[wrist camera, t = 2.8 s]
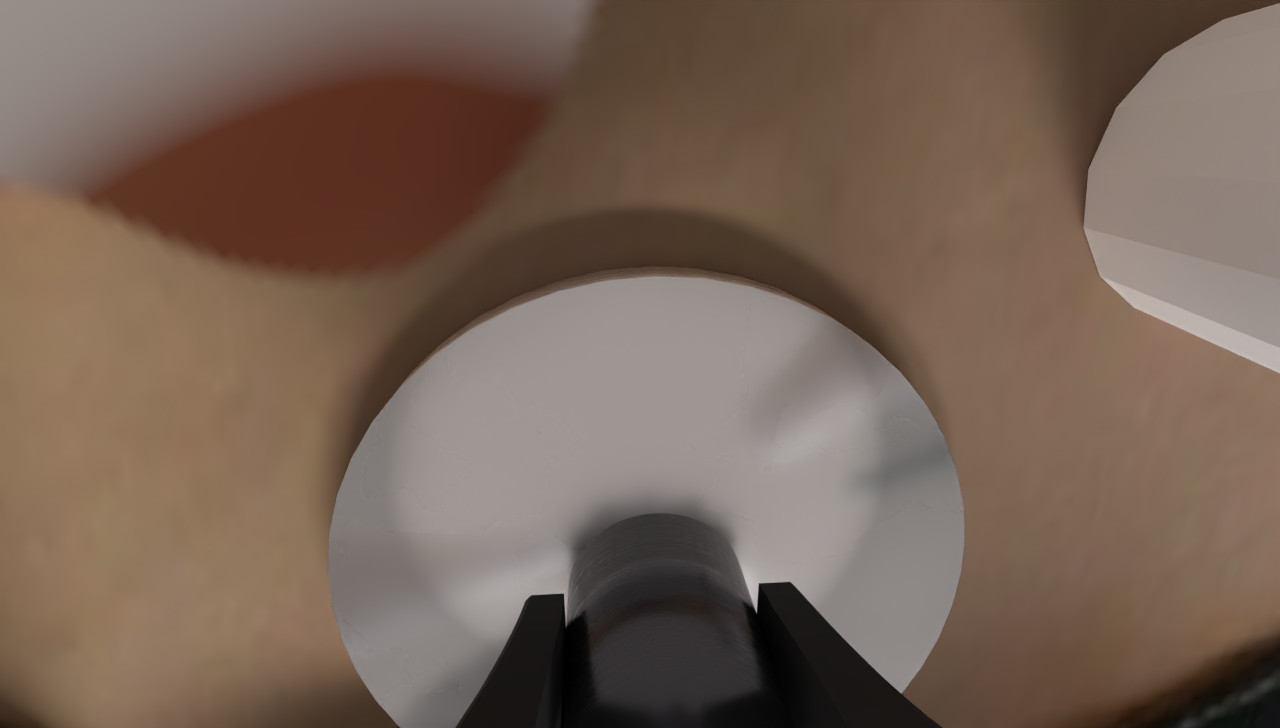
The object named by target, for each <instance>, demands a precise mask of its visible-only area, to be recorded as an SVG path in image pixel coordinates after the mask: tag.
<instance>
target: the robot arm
mask: <svg viewBox="0 0 1280 728" xmlns="http://www.w3.org/2000/svg"><path fill="white" fill-rule="evenodd" d="M757 616H758V619H759V622H760V625H761V628H762V631H763V634H764V637H765V640H766V643H767V646H768V648H769V651H770V654H771V657H772V660H773V663H774V666H775V669H776V672H777V675H778V678H779V681H780V684H781V686H782V689H783V692H784V695H785V698H786V701H787V704H788V707H789V710H790V713H791V716H792V719H793V722H794V724H795V727H796V728H942V727H941V726H939V725H938V724H937V723H936V722H934V721H933V720H932V719H930V718H929V717H928V716H927V715H925V714H924V713H923V712H922V711H921V710H919V709H918V708H917V707H916V706H915V705H913V704H912V703H911V702H910V701H909V700H908V699H907V698H905V697H904V696H903V695H902V694H901V693H900V692H899V691H898V690H896V689H895V688H894V687H893V686H892V685H891V684H890V683H889V682H888V681H887V680H885V679H884V678H883V677H882V676H881V675H880V674H879V673H878V672H877V671H876V670H875V669H874V668H873V667H872V666H871V665H870V664H869V663H868V662H867V661H866V660H865V659H864V658H863V657H862V656H861V655H860V654H859V653H858V652H857V651H856V650H855V649H854V648H853V647H852V646H851V645H850V644H849V643H848V642H847V641H846V640H845V639H844V638H843V637H842V636H841V635H840V634H839V633H838V632H837V631H836V630H835V629H834V628H833V627H832V626H831V625H830V624H829V623H828V622H827V620H826V619H825V618H824V617H823V616H822V615H821V614H820V613H819V612H818V611H817V610H816V609H815V607H814V606H813V605H812V604H811V603H810V602H809V601H808V600H807V599H806V598H805V597H804V595H803V594H802V593H801V592H800V591H799V590H798V589H797V588H796V587H795V586H794V585H793V584H792V583H791V582H776V583H759V587H758V602H757ZM565 636H566V620H565V602H564V593H563V594H544V595H531V596H530V597H529V598H528V599H527V600H526V601H525V603H524V606H523V608H522V611H521V613H520V616H519V618H518V620H517V622H516V625H515V627H514V629H513V631H512V633H511V635H510V637H509V639H508V641H507V643H506V645H505V647H504V648H503V650H502V652H501V654H500V656H499V658H498V659H497V661H496V663H495V665H494V666H493V668H492V670H491V672H490V673H489V675H488V677H487V679H486V680H485V682H484V684H483V685H482V687H481V689H480V690H479V692H478V694H477V695H476V697H475V698H474V700H473V701H472V703H471V704H470V706H469V707H468V709H467V710H466V712H465V714H464V715H463V717H462V718H461V720H460V721H459V723H458V724H457V726H456V727H455V728H560V726H561V708H562V690H563V672H564V654H565Z"/></svg>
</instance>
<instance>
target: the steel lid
mask: <svg viewBox="0 0 1280 728" xmlns="http://www.w3.org/2000/svg"><path fill="white" fill-rule="evenodd" d="M964 541H965V534H964V509H963V500H962V495H961V490H960V485H959V480H958V475H957V470H956V467H955V465H954V462H953V459H952V456H951V454H950V451H949V448H948V446H947V443H946V440H945V438H944V435H943V433H942V432H941V430H940V428H939V426H938V425H937V423H936V421H935V419H934V418H933V416H932V414H931V412H930V411H929V409H928V407H927V405H926V403H925V402H924V401H923V400H922V398H921V397H920V396H919V395H918V393H917V392H916V391H915V390H914V388H913V387H912V386H911V385H910V383H909V382H908V381H907V380H906V378H905V377H904V376H903V375H902V373H901V372H900V371H899V370H898V369H896V368H895V367H894V366H893V365H892V364H891V363H890V362H889V361H888V360H887V359H886V358H884V357H883V356H882V355H881V354H880V353H879V352H878V351H877V350H876V349H875V348H874V347H872V346H871V345H870V344H869V343H868V342H866V341H865V340H864V339H862V338H861V337H860V336H858V335H857V334H856V333H854V332H853V331H852V330H850V329H849V328H847V327H846V326H844V325H843V324H841V323H840V322H838V321H837V320H835V319H834V318H833V317H831V316H830V315H828V314H827V313H825V312H824V311H822V310H821V309H819V308H818V307H816V306H814V305H812V304H810V303H808V302H806V301H804V300H801V299H799V298H797V297H795V296H793V295H791V294H789V293H787V292H785V291H783V290H781V289H778V288H775V287H772V286H769V285H766V284H763V283H760V282H757V281H753V280H750V279H747V278H744V277H741V276H737V275H732V274H726V273H720V272H715V271H709V270H703V269H698V268H682V267H659V266H647V267H635V268H623V269H612V270H604V271H599V272H594V273H590V274H585V275H581V276H576V277H572V278H567V279H563V280H559V281H557V282H554V283H551V284H548V285H545V286H543V287H540V288H537V289H534V290H532V291H529V292H526V293H523V294H521V295H518V296H516V297H514V298H512V299H510V300H509V301H507V302H505V303H503V304H501V305H499V306H497V307H495V308H493V309H491V310H489V311H487V312H485V313H484V314H482V315H480V316H478V317H477V318H475V319H474V320H473V321H471V322H470V323H468V324H467V325H466V326H464V327H463V328H461V329H460V330H458V331H457V332H456V333H454V334H453V335H451V336H450V337H449V338H447V339H446V340H444V341H443V342H442V343H441V344H440V345H439V346H438V347H437V348H436V349H435V350H434V351H433V352H432V353H430V354H429V355H428V356H427V357H426V358H425V359H424V360H423V361H422V362H421V363H420V364H419V365H418V366H417V367H416V368H415V369H414V370H413V371H412V372H411V373H410V375H409V376H408V377H407V378H406V380H405V381H404V382H403V383H402V385H401V386H400V387H399V388H398V390H397V391H396V392H395V394H394V395H393V396H392V397H391V399H390V400H389V401H388V402H387V404H386V405H385V406H384V408H383V409H382V410H381V411H380V413H379V414H378V415H377V417H376V418H375V419H374V420H373V422H372V423H371V425H370V427H369V428H368V430H367V432H366V434H365V435H364V437H363V439H362V441H361V442H360V444H359V446H358V448H357V449H356V451H355V453H354V455H353V456H352V458H351V460H350V463H349V466H348V468H347V471H346V473H345V476H344V479H343V481H342V484H341V487H340V489H339V492H338V494H337V498H336V503H335V508H334V513H333V517H332V522H331V527H330V532H329V551H328V576H329V585H330V593H331V601H332V607H333V611H334V614H335V618H336V621H337V625H338V628H339V632H340V635H341V638H342V641H343V643H344V645H345V647H346V650H347V652H348V654H349V656H350V658H351V660H352V663H353V665H354V667H355V669H356V671H357V673H358V674H359V676H360V677H361V679H362V680H363V682H364V683H365V685H366V686H367V688H368V689H369V691H370V692H371V694H372V695H373V697H374V699H375V700H376V701H377V702H378V703H379V705H380V706H381V707H382V708H383V709H384V710H385V711H386V713H387V714H388V715H389V716H390V717H391V718H392V719H393V720H394V722H395V723H396V724H397V725H398V726H399V727H400V728H455V727H456V726H457V724H458V723H459V721H460V720H461V718H462V717H463V715H464V714H465V712H466V710H467V709H468V707H469V706H470V704H471V703H472V701H473V700H474V698H475V697H476V695H477V694H478V692H479V690H480V689H481V687H482V685H483V684H484V682H485V680H486V679H487V677H488V675H489V673H490V672H491V670H492V668H493V666H494V665H495V663H496V661H497V659H498V658H499V656H500V654H501V652H502V650H503V648H504V647H505V645H506V643H507V641H508V639H509V637H510V635H511V633H512V631H513V629H514V627H515V625H516V622H517V620H518V618H519V616H520V613H521V611H522V608H523V606H524V603H525V601H526V600H527V599H528V598H529V597H530V596H531V595H544V594H563V593H564V602H565V620H566V636H565V654H564V672H563V690H562V708H561V726H560V728H796V727H795V724H794V722H793V719H792V716H791V713H790V710H789V707H788V704H787V701H786V698H785V695H784V692H783V689H782V686H781V684H780V681H779V678H778V675H777V672H776V669H775V666H774V663H773V660H772V657H771V654H770V651H769V648H768V646H767V643H766V640H765V637H764V634H763V631H762V628H761V625H760V622H759V619H758V616H757V602H758V587H759V583H776V582H791V583H792V584H793V585H794V586H795V587H796V588H797V589H798V590H799V591H800V592H801V593H802V594H803V595H804V597H805V598H806V599H807V600H808V601H809V602H810V603H811V604H812V605H813V606H814V607H815V609H816V610H817V611H818V612H819V613H820V614H821V615H822V616H823V617H824V618H825V619H826V620H827V622H828V623H829V624H830V625H831V626H832V627H833V628H834V629H835V630H836V631H837V632H838V633H839V634H840V635H841V636H842V637H843V638H844V639H845V640H846V641H847V642H848V643H849V644H850V645H851V646H852V647H853V648H854V649H855V650H856V651H857V652H858V653H859V654H860V655H861V656H862V657H863V658H864V659H865V660H866V661H867V662H868V663H869V664H870V665H871V666H872V667H873V668H874V669H875V670H876V671H877V672H878V673H879V674H880V675H881V676H882V677H883V678H884V679H885V680H887V681H888V682H889V683H890V684H891V685H892V686H893V687H894V688H895V689H896V690H898V691H899V692H900V693H901V694H902V693H903V691H904V690H905V689H906V687H907V686H908V685H909V683H910V682H911V681H912V679H913V678H914V677H915V675H916V674H917V673H918V671H919V670H920V669H921V667H922V666H923V664H924V662H925V661H926V659H927V657H928V656H929V654H930V652H931V650H932V649H933V647H934V645H935V643H936V642H937V640H938V638H939V636H940V634H941V631H942V629H943V627H944V624H945V622H946V619H947V617H948V615H949V612H950V610H951V607H952V605H953V601H954V597H955V593H956V589H957V586H958V582H959V578H960V574H961V567H962V558H963V550H964Z"/></svg>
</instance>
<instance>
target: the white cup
mask: <svg viewBox="0 0 1280 728" xmlns="http://www.w3.org/2000/svg"><path fill="white" fill-rule="evenodd" d="M1083 228H1084V231H1085V234H1086V237H1087V240H1088V243H1089V246H1090V249H1091V252H1092V255H1093V258H1094V261H1095V264H1096V267H1097V270H1098V273H1099V276H1100V277H1101V278H1102V279H1103V280H1105V281H1106V282H1107V283H1108V284H1109V285H1110V286H1111V287H1112V288H1113V289H1114V290H1115V291H1116V292H1117V293H1118V294H1120V295H1121V296H1122V297H1123V298H1124V299H1125V300H1126V301H1127V302H1128V303H1129V304H1130V305H1131V306H1132V307H1134V308H1136V309H1138V310H1140V311H1143V312H1145V313H1147V314H1149V315H1151V316H1154V317H1156V318H1158V319H1160V320H1163V321H1165V322H1167V323H1169V324H1171V325H1174V326H1176V327H1178V328H1180V329H1183V330H1185V331H1187V332H1189V333H1191V334H1194V335H1196V336H1198V337H1200V338H1203V339H1205V340H1207V341H1209V342H1211V343H1214V344H1216V345H1218V346H1220V347H1222V348H1225V349H1227V350H1229V351H1231V352H1234V353H1236V354H1238V355H1240V356H1242V357H1245V358H1247V359H1249V360H1251V361H1254V362H1256V363H1258V364H1260V365H1262V366H1265V367H1267V368H1269V369H1271V370H1273V371H1276V372H1278V373H1280V3H1278V4H1275V5H1271V6H1268V7H1264V8H1261V9H1258V10H1254V11H1251V12H1247V13H1244V14H1240V15H1237V16H1233V17H1230V18H1227V19H1223V20H1221V21H1220V22H1218V23H1216V24H1215V25H1213V26H1211V27H1209V28H1208V29H1206V30H1204V31H1203V32H1201V33H1199V34H1197V35H1196V36H1194V37H1192V38H1191V39H1189V40H1187V41H1186V42H1184V43H1182V44H1180V45H1179V46H1177V47H1175V48H1174V49H1172V50H1170V51H1169V52H1167V53H1165V54H1163V56H1162V57H1161V58H1160V59H1159V60H1158V61H1157V62H1156V63H1155V65H1154V66H1153V67H1152V68H1151V69H1150V70H1149V71H1148V72H1147V74H1146V75H1145V76H1144V77H1143V78H1142V79H1141V80H1140V81H1139V83H1138V84H1137V85H1136V86H1135V87H1134V88H1133V89H1132V90H1131V92H1130V93H1129V94H1128V95H1127V96H1126V97H1125V98H1124V99H1123V101H1122V102H1121V103H1120V104H1119V105H1118V106H1117V107H1116V109H1115V111H1114V114H1113V116H1112V118H1111V120H1110V122H1109V125H1108V127H1107V129H1106V131H1105V134H1104V136H1103V138H1102V140H1101V142H1100V145H1099V147H1098V149H1097V151H1096V153H1095V156H1094V158H1093V160H1092V162H1091V164H1090V167H1089V169H1088V180H1087V191H1086V203H1085V214H1084V226H1083Z"/></svg>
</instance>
